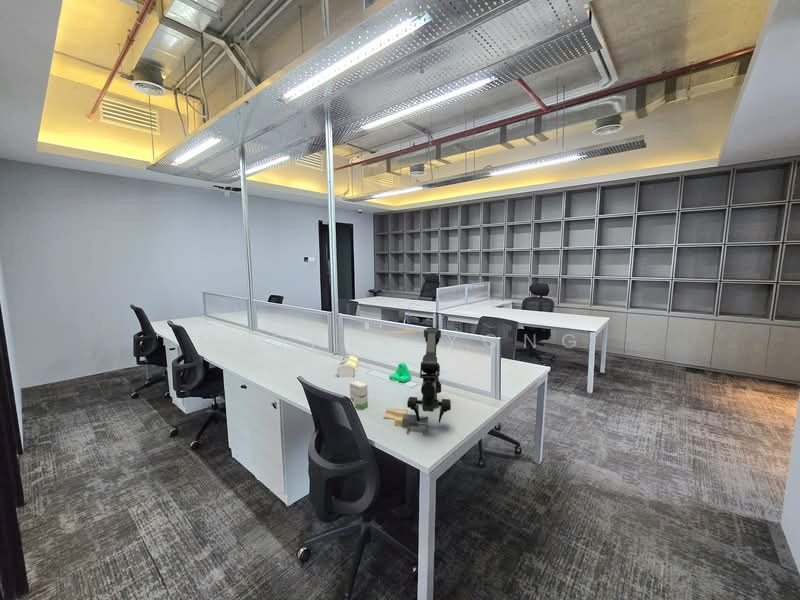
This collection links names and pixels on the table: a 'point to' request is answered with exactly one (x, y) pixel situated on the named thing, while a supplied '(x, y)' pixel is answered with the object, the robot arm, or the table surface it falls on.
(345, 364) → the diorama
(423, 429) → the pair of grey brackets
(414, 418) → the plug
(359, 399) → the ink box
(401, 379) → the camera mount
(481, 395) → the table surface
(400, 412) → the pad
